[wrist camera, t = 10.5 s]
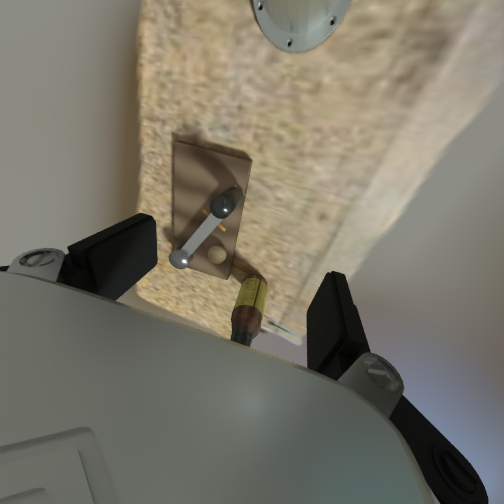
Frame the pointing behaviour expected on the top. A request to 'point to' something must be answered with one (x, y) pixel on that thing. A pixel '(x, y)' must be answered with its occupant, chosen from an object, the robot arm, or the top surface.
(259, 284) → the sauce bottle
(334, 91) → the top surface
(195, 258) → the board
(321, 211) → the top surface
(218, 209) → the lever
